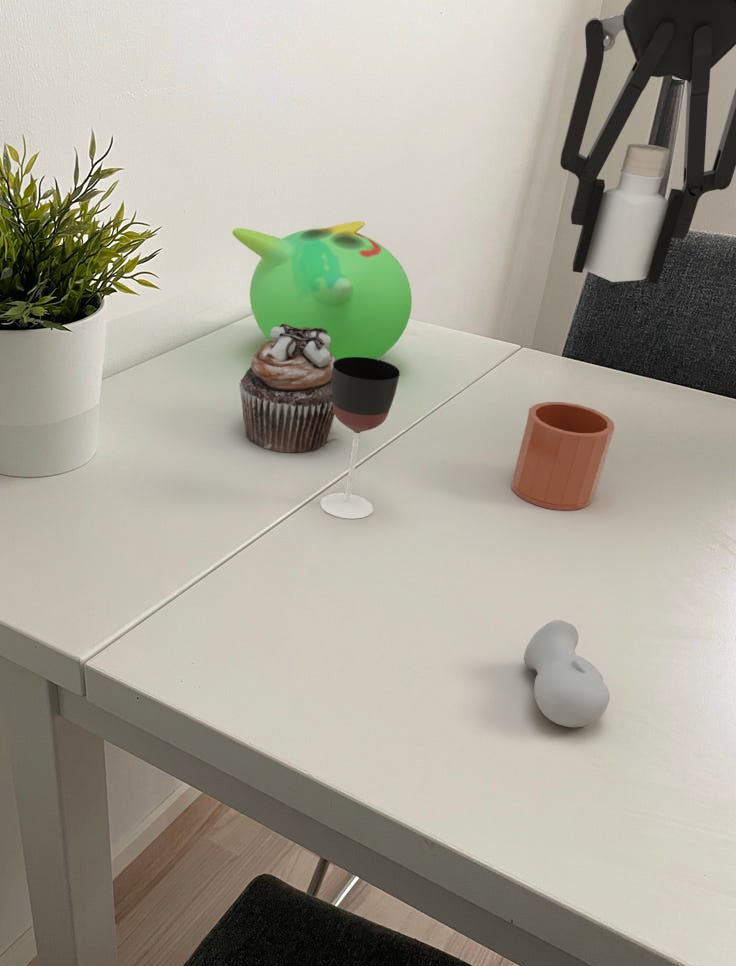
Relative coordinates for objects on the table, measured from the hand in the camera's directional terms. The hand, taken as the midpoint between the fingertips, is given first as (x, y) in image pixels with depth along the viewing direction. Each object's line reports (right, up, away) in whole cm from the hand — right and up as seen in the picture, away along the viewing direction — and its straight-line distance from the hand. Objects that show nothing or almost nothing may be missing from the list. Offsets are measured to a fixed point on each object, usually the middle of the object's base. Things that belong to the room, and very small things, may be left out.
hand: (614, 272), depth 81 cm
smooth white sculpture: (-9, -34, -16) cm, 38 cm away
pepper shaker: (0, 0, 0) cm, 0 cm away
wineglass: (-21, -19, +4) cm, 29 cm away
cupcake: (-26, -10, +15) cm, 32 cm away
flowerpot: (-2, -16, +9) cm, 19 cm away
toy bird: (-22, +1, +31) cm, 38 cm away
